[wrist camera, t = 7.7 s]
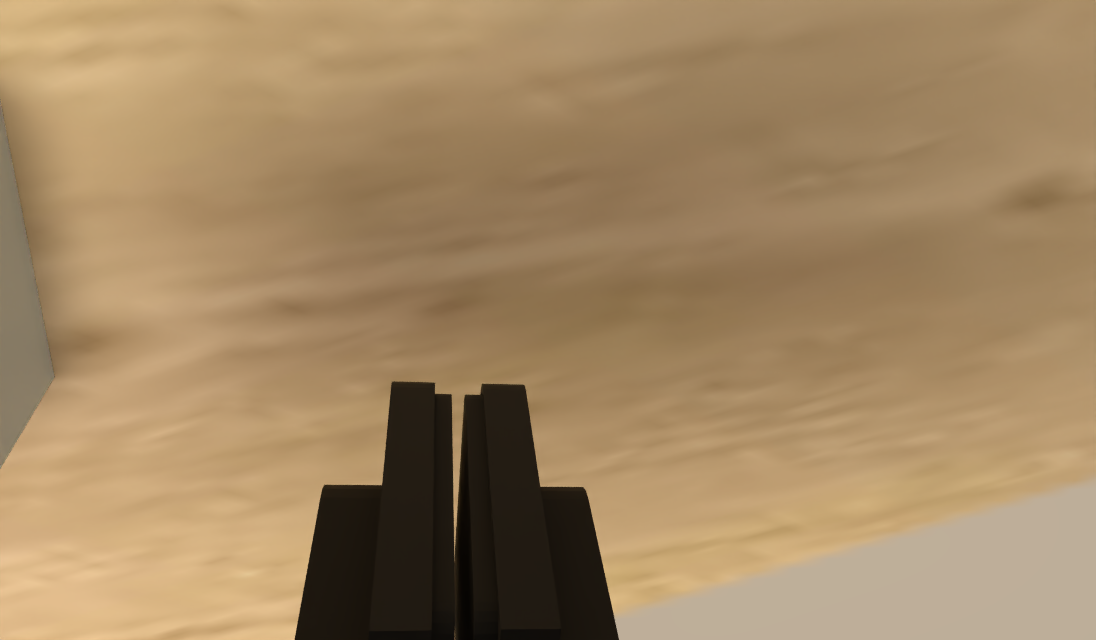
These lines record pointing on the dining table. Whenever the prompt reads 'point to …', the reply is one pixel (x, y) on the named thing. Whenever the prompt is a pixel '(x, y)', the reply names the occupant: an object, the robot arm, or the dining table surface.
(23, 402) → the block
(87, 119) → the dining table surface
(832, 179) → the dining table surface
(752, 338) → the dining table surface
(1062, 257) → the dining table surface
